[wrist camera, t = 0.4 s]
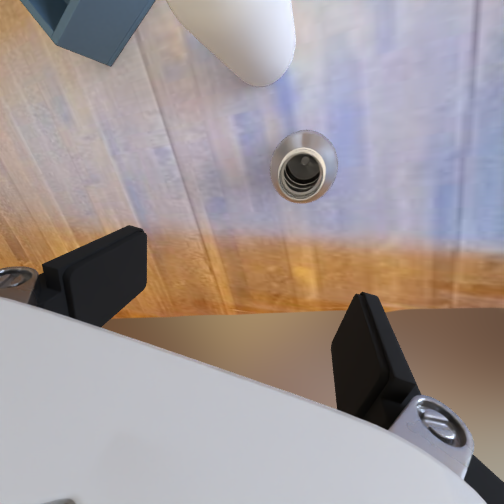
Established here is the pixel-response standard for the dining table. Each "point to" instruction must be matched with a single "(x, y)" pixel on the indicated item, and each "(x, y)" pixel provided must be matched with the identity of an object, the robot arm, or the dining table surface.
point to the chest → (90, 24)
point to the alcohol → (243, 34)
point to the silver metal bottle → (303, 166)
